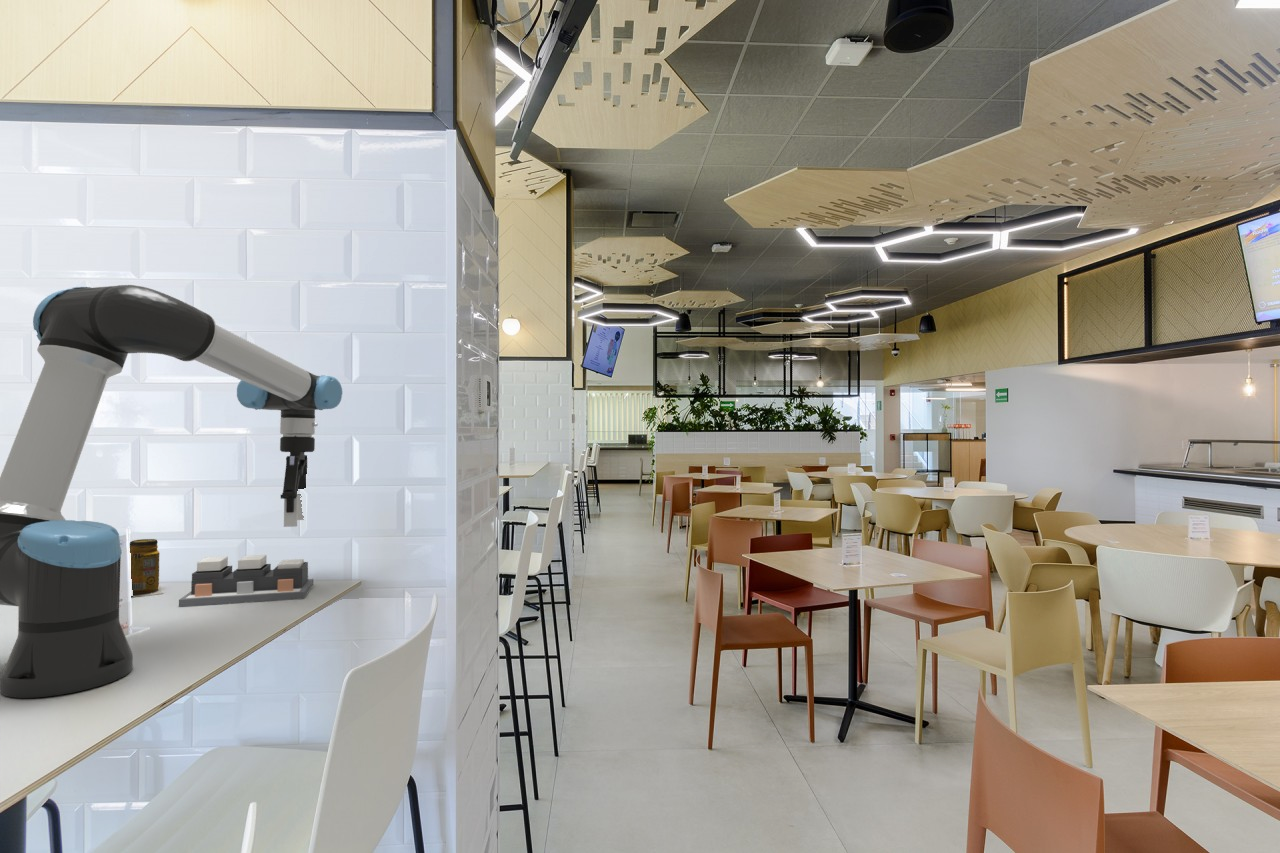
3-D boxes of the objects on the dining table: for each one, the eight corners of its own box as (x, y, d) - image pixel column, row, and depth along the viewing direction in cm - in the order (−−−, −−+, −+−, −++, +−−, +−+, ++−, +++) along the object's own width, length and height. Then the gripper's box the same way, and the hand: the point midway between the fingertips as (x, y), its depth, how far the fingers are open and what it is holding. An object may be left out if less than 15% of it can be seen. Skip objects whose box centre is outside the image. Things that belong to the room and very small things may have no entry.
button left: (196, 571, 148) (197, 562, 148) (205, 566, 154) (205, 557, 154) (220, 570, 150) (220, 561, 150) (227, 565, 155) (227, 556, 155)
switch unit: (178, 606, 142) (179, 578, 142) (199, 591, 156) (200, 565, 156) (303, 598, 150) (303, 571, 150) (313, 585, 163) (313, 560, 163)
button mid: (237, 569, 151) (238, 560, 151) (244, 564, 156) (244, 555, 156) (260, 568, 152) (260, 559, 152) (266, 563, 158) (266, 554, 158)
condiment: (160, 587, 160) (160, 537, 160) (163, 594, 154) (163, 541, 154) (121, 591, 156) (122, 540, 156) (122, 599, 149) (123, 545, 149)
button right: (277, 573, 153) (277, 564, 153) (282, 568, 159) (283, 559, 159) (299, 572, 154) (299, 563, 154) (303, 567, 160) (303, 559, 160)
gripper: (306, 435, 153) (304, 529, 152) (322, 436, 177) (320, 517, 176) (269, 435, 151) (267, 530, 150) (290, 436, 174) (288, 517, 174)
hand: (295, 523), depth 163 cm, fingers open, 13 cm apart
